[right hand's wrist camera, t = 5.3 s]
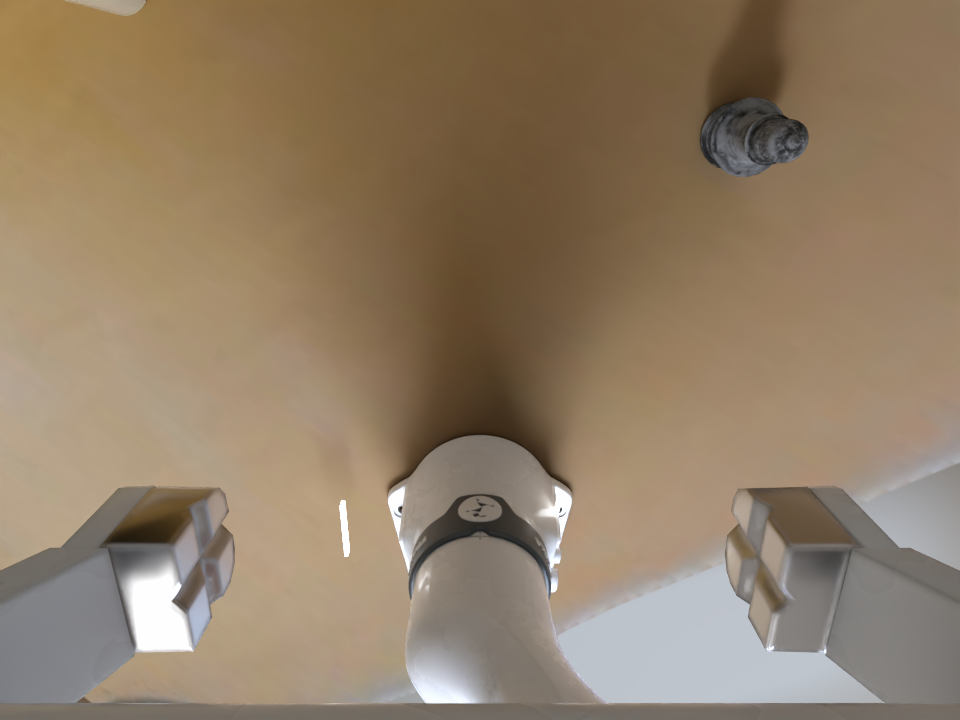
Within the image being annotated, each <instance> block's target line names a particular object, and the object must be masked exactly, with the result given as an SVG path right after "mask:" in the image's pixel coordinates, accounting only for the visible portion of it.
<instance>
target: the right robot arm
mask: <svg viewBox="0 0 960 720" xmlns="http://www.w3.org/2000/svg"><path fill="white" fill-rule="evenodd" d="M388 504H389V508H390V511H391V514H392V518H393V521H394V525H395V528H396V532H397V535H398V538H399V542H400V545H401V549H402V552H403V555H404V559H405V562H406V566H407V569H408V573H409V575H408V578H409V594H410V599H411V606H410V613H409V621H408V628H407V635H406V642H405V662H406V667H407V671H408V674H409V677H410V679H411V681H412V683H413V685H414V686H415V688H416V690H417V691H418V693H419V694H420V696H421V697H422V699H423V700H424V702H425V703H76V702H77V701H78V700H80V699H81V698H82V697H83V696H85V695H86V694H87V693H88V692H90V691H91V690H92V689H93V688H95V687H96V686H97V685H98V684H100V683H101V682H102V681H103V680H105V679H106V678H107V677H108V676H110V675H111V674H112V673H113V672H115V671H116V670H117V669H118V668H120V667H121V666H122V665H123V664H125V663H126V662H127V661H128V660H130V659H131V658H132V657H133V656H134V653H140V652H175V651H194V649H195V648H196V646H197V644H198V642H199V640H200V638H201V637H202V635H203V633H204V631H205V629H206V627H207V625H208V624H209V622H210V620H211V618H212V614H211V608H210V604H212V603H213V602H215V601H216V600H218V599H219V598H221V597H222V596H223V595H224V593H225V591H226V589H227V587H228V585H229V583H230V581H231V577H232V572H233V568H234V562H235V547H234V541H233V535H232V534H231V533H230V532H229V531H228V530H227V529H226V528H225V527H224V526H223V525H222V524H221V523H222V521H223V520H224V518H225V517H226V515H227V513H228V512H229V511H228V506H227V501H226V496H225V493H224V492H223V491H222V490H221V489H220V488H212V487H162V486H158V487H155V486H127V487H122V488H118V489H117V491H116V492H115V493H114V494H113V495H112V496H111V497H110V498H109V499H108V500H107V501H106V502H105V503H104V504H103V505H102V506H101V507H100V508H99V509H98V510H97V511H96V512H95V513H94V514H93V515H92V516H91V517H90V518H89V519H88V520H87V521H86V522H85V523H84V524H83V525H82V526H81V527H80V528H79V529H78V530H77V531H76V532H75V534H74V535H73V536H72V537H71V538H70V539H69V540H68V541H67V542H66V543H65V544H64V545H63V546H62V547H61V548H49V549H47V550H44V551H42V552H40V553H38V554H36V555H33V556H31V557H29V558H27V559H25V560H23V561H20V562H18V563H16V564H14V565H12V566H9V567H7V568H5V569H3V570H1V571H0V720H960V571H959V570H957V569H955V568H953V567H950V566H948V565H946V564H944V563H942V562H939V561H937V560H935V559H933V558H931V557H929V556H926V555H924V554H922V553H920V552H918V551H916V550H913V549H911V548H899V547H898V546H897V545H896V544H895V543H894V542H893V541H892V540H891V539H890V538H889V537H888V535H886V533H885V532H884V531H883V530H882V529H881V528H880V527H879V526H878V525H877V524H876V523H875V522H874V521H873V520H872V519H871V518H870V517H869V516H868V515H867V514H866V513H865V512H864V511H863V510H862V509H861V508H860V507H859V506H858V505H857V504H856V503H855V502H854V501H853V500H852V499H851V497H850V496H849V495H848V494H847V493H846V492H845V491H844V490H843V489H841V488H838V487H836V486H814V487H787V488H747V489H738V490H737V492H736V494H735V496H734V499H733V505H732V510H731V512H732V513H733V515H734V517H735V518H736V520H737V521H738V523H739V524H738V525H737V526H736V527H735V528H734V529H733V530H732V531H731V532H730V533H729V534H728V535H727V542H726V550H725V558H726V569H727V574H728V577H729V580H730V584H731V586H732V587H733V589H734V591H735V593H736V595H737V596H738V597H740V598H741V599H742V600H744V601H746V602H747V603H749V604H750V608H749V614H748V618H749V620H750V622H751V623H752V625H753V627H754V629H755V631H756V633H757V635H758V636H759V638H760V640H761V642H762V644H763V646H764V648H765V649H766V651H784V652H821V653H826V656H827V657H828V658H829V659H831V660H832V661H833V662H834V663H836V664H837V665H838V666H839V667H841V668H842V669H843V670H844V671H846V672H847V673H848V674H849V675H851V676H852V677H853V678H854V679H856V680H857V681H858V682H859V683H861V684H862V685H863V686H864V687H866V688H867V689H868V690H869V691H871V692H872V693H873V694H874V695H876V696H877V697H878V698H879V699H881V700H882V701H883V702H884V703H607V702H605V701H604V700H603V699H602V698H601V697H600V696H599V695H598V694H597V693H595V692H594V691H593V690H592V689H591V688H590V687H589V686H588V685H587V684H586V682H585V681H584V680H583V679H582V678H581V677H580V676H579V675H578V673H577V672H576V671H575V670H574V668H573V667H572V666H571V664H570V663H569V661H568V660H567V658H566V657H565V655H564V653H563V651H562V649H561V647H560V645H559V642H558V638H557V635H556V631H555V627H554V623H553V619H552V615H551V609H550V604H549V599H550V594H551V592H555V591H556V589H557V585H558V570H557V569H556V568H553V566H554V563H560V559H561V550H560V549H559V545H560V542H561V538H562V535H563V532H564V528H565V525H566V521H567V518H568V515H569V511H570V508H571V504H572V493H571V491H570V489H569V488H568V487H566V486H565V485H564V484H562V483H560V482H559V481H557V480H555V479H553V478H552V477H550V476H549V475H548V474H547V473H546V471H545V470H544V469H543V467H542V466H541V464H540V463H539V462H538V460H537V459H536V458H535V457H534V456H533V455H532V454H531V453H530V452H528V451H527V450H526V449H524V448H523V447H521V446H520V445H518V444H516V443H514V442H512V441H509V440H507V439H504V438H500V437H496V436H489V435H471V436H464V437H460V438H456V439H453V440H451V441H448V442H446V443H444V444H442V445H440V446H439V447H437V448H436V449H434V450H433V451H432V452H430V453H429V454H428V455H427V456H426V457H425V458H424V459H423V460H422V462H421V463H420V464H419V466H418V467H417V469H416V470H415V471H414V473H413V474H412V475H411V476H410V477H408V478H407V479H405V480H403V481H401V482H400V483H398V484H396V485H395V486H394V487H392V488H391V489H390V491H389V493H388ZM400 506H403V507H402V509H401V508H399V507H400ZM560 507H561V508H560ZM340 513H341V523H342V533H343V543H344V553H345V556H348V554H349V551H350V550H349V539H348V529H347V518H346V507H345V500H342V501H341V504H340Z"/></svg>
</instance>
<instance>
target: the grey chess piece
mask: <svg viewBox="0 0 960 720" xmlns="http://www.w3.org/2000/svg"><path fill="white" fill-rule="evenodd" d="M808 139H809V136H808V131H807V128H806V127H805V126H804V125H803V124H802V123H801V122H799V121H797V120H793V119H788V118H787V117H785V116H784V115H783V113H782V112H781V110H780V109H779V108H778V107H777V106H776V105H775V104H774V103H772V102H770V101H769V100H766V99H763V98H759V97H758V98H746V99H743V100H739V101H737V102H734V103H729V104H725V105H723V106H721V107H719V108H718V109H716V110H715V111H714V112H713V113H712V114H711V115H710V116H709V117H708V119H707V120H706V122H705V123H704V126H703V129H702V132H701V139H700V143H701V149H702V152H703V154H704V156H705V158H706V159H707V160H708V161H709V162H710V163H711V164H712V165H714V166H716V167H718V168H721V169H722V170H724V171H725V172H727V173H729V174H731V175H735V176H739V177H749V176H752V175H756V174H759V173H761V172H763V171H764V170H766V169H768V168H769V167H770V166H771V165H772V164H776V163H777V162H778V163H787V162H790V161H793V160H795V159H797V158H798V157H799V156H800V155H801V154H802V153H803V152H804V150H805V149H806V147H807V144H808Z"/></svg>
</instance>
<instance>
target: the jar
mask: <svg viewBox="0 0 960 720" xmlns="http://www.w3.org/2000/svg"><path fill="white" fill-rule="evenodd" d="M64 1H67V2H71V3H75V4H78V5H82V6H86V7H90V8H93V9H97V10H101V11H104V12H108V13H112V14H116V15H120V16H129V15H133V14H135V13H137V12H138V11H139V10H140V9H141V8H142V7H143V6H144V5H145V3H146V0H64Z"/></svg>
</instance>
